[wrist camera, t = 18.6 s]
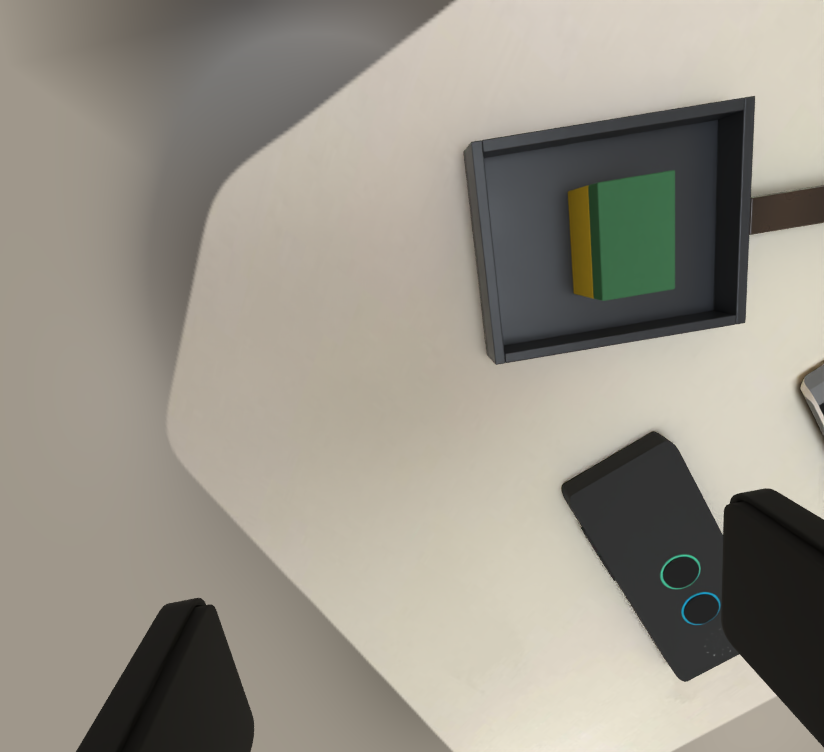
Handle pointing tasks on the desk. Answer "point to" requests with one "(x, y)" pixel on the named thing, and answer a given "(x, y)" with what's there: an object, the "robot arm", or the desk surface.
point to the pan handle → (786, 210)
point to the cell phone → (815, 394)
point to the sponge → (623, 236)
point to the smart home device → (658, 548)
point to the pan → (550, 228)
